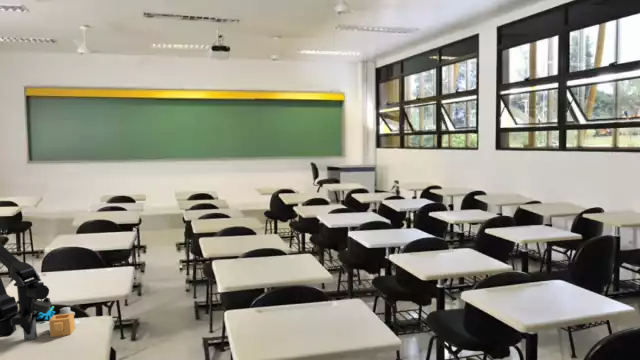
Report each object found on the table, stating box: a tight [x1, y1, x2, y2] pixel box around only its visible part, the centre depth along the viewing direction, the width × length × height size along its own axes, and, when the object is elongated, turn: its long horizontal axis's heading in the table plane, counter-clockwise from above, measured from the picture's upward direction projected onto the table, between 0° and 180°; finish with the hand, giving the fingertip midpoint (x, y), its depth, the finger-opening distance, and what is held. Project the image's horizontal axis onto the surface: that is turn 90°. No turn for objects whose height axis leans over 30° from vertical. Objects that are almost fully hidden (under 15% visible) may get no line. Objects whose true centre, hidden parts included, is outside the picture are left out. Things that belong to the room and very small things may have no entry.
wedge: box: [22, 319, 38, 342], centre depth 204 cm, size 4×2×8 cm, turn 101°
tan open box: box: [48, 306, 76, 338], centre depth 211 cm, size 8×14×8 cm, turn 11°
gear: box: [36, 305, 56, 322], centre depth 226 cm, size 11×6×10 cm
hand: (30, 332), depth 204 cm, fingers closed on wedge, 2 cm apart
